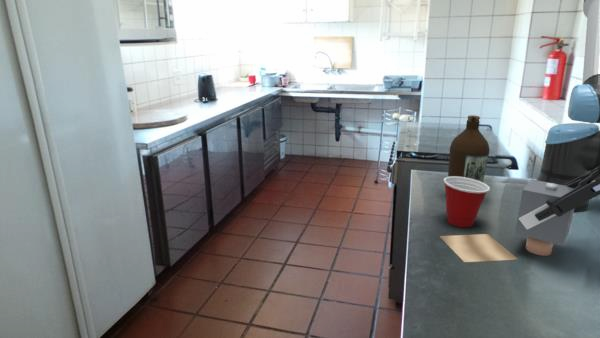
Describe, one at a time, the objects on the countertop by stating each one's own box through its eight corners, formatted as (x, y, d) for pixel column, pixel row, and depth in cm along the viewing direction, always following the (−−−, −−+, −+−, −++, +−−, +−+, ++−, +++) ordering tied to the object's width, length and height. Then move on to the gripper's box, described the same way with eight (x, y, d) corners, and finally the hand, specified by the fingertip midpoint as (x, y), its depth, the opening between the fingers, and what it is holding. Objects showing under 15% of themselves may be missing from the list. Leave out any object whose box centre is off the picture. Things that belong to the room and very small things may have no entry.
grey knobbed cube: (523, 220, 95) (532, 175, 92) (569, 231, 90) (579, 183, 86) (514, 233, 88) (523, 185, 85) (563, 246, 83) (574, 195, 80)
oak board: (486, 238, 98) (487, 234, 98) (517, 264, 87) (518, 259, 87) (438, 240, 97) (439, 236, 97) (463, 267, 86) (464, 262, 85)
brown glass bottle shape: (437, 193, 127) (446, 113, 120) (467, 191, 130) (478, 112, 122) (457, 206, 117) (468, 120, 110) (489, 203, 120) (503, 118, 112)
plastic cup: (487, 238, 99) (495, 191, 95) (440, 233, 101) (446, 187, 97) (478, 219, 109) (485, 176, 105) (436, 216, 111) (441, 173, 107)
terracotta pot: (540, 248, 94) (544, 230, 92) (555, 259, 89) (559, 240, 88) (519, 249, 93) (523, 231, 92) (534, 260, 88) (538, 241, 87)
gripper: (654, 191, 67) (529, 249, 81) (652, 163, 83) (547, 215, 97) (622, 154, 69) (504, 217, 83) (625, 134, 85) (526, 189, 99)
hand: (527, 216), depth 90 cm, fingers closed on grey knobbed cube, 9 cm apart
